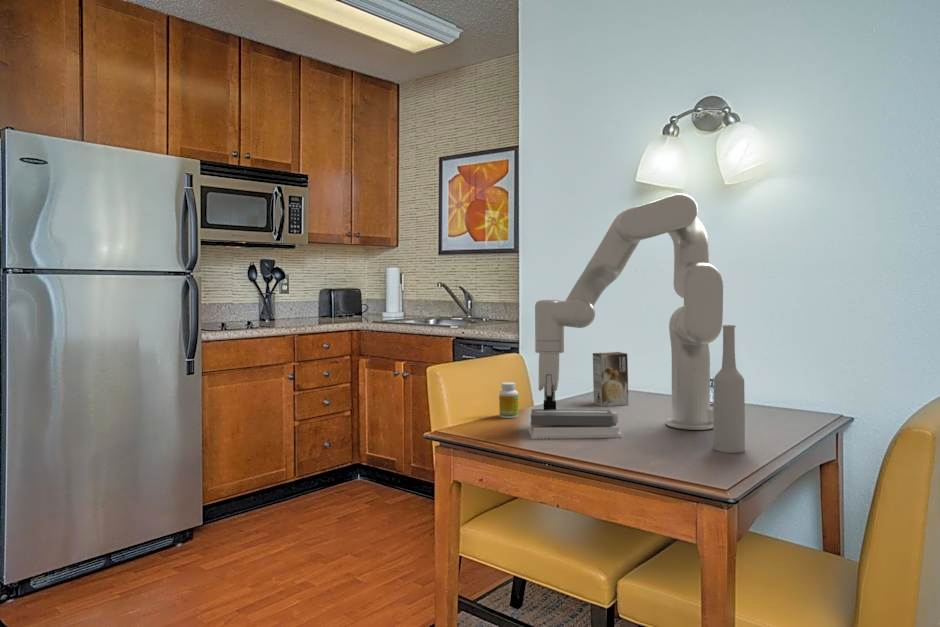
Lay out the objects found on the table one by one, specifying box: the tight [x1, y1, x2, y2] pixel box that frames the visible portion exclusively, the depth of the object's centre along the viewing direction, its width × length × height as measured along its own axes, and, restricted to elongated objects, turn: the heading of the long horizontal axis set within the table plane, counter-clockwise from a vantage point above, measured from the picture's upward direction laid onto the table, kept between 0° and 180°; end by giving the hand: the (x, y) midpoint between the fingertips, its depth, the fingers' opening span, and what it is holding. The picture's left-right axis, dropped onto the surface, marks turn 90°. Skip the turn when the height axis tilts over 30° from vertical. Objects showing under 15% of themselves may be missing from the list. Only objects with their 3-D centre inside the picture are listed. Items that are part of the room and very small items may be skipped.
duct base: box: [527, 421, 623, 440], centre depth 164 cm, size 22×9×2 cm, turn 90°
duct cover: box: [530, 408, 619, 426], centre depth 165 cm, size 22×8×3 cm, turn 83°
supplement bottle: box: [498, 381, 519, 419], centre depth 187 cm, size 5×5×10 cm
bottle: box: [712, 324, 746, 454], centre depth 146 cm, size 7×7×28 cm
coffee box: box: [592, 351, 629, 407], centre depth 203 cm, size 9×6×16 cm
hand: (549, 415), depth 172 cm, fingers closed
